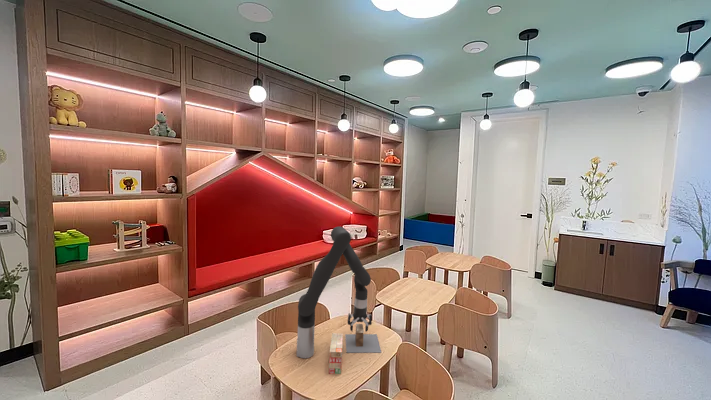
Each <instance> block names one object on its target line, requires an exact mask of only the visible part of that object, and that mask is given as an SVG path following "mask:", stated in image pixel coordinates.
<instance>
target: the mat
mask: <svg viewBox="0 0 711 400" xmlns="http://www.w3.org/2000/svg"><path fill="white" fill-rule="evenodd" d="M355 336H356V333H355V334H353V333H350V334H349V333H345V334H344V337H345V350H346V354H377V353H378V354H382V349H381V345H380V341H379V338H378V335H377V333H369V334H368V333H364V335H363V346H356V341H355Z"/></svg>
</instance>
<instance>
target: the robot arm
mask: <svg viewBox="0 0 711 400" xmlns="http://www.w3.org/2000/svg"><path fill="white" fill-rule="evenodd" d="M330 238H331V240H332V241H333V243H332V246H331V248H330V250H329V251H328V252H327V254H326V255H325V256H324V257H323V258H322V259H320V261H319V262H318V264H317V265H316V267H315V270H314V272H313V274H312V276H311V280H310V284H309V286H308V289H307V291H306V293H304V294H302V295H301V296H300V298H299V299H298V304H297V310H298V311H297V312H298V313H297V315H298V316H297V338H296V357H297V358H298V357H299V358H301V359H308V358H311V357H313V356H314V354H315V326H316V325H315V323H316V322H315V321H316V306H317V304H318V302H319V299H320V297H321V295H322V292H323V291H324V290H325V288H326V286H327V284H328V283H329V281H330V279H331V277H332V275H333V273H334V271H335V269H336V267H337V265H338V264H339V263H338V262H339V261H340V259H341V258H342V255H343V257H344V258H345V261H346V263H347V265H348V267H349V268H350V271H351V272H352V273H353V274H354V276H353V280H354V281H353V282H354V283H353V284H354V288H355V294H354V295H355V297H354V303H353V304H354V306H353V307H354V308H353V314H352V313H351V312H349V313H348V315H347V325H349V329H350V331H351V332H353V331H354V329H353V328H354V325H355V324H357V323H364V324H365V326H364V327H365V330H364V332H366V333H367V332H368V331H369V326H372V323H373V322H372V321H373V320H372V318H373V317H372V314H371V313H367V312H368V311H367V309H368V289H367V286H369V285H370V284H371V280H372V279H371V276H370V273H369V272H368V271H367V270H366V268H365V266H363V263H362V261H361V259H360V257H359V256H358V255H357V253H356V252H355V250H354V248H353V247H352V245H351V239H352V236H351V233H350V232H349V231H348V230H347V229H346V228H344V227H343V226H335V227H333V229H332V230H331V233H330ZM352 318H353V319H352ZM351 319H352V320H351ZM367 319H368V320H367Z"/></svg>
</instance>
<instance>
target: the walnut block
mask: <svg viewBox="0 0 711 400" xmlns="http://www.w3.org/2000/svg"><path fill="white" fill-rule="evenodd" d="M363 325H364V324H363V323H355V334H356V336H355V341H356V346H363V335H364V334H365V330H364V326H363Z"/></svg>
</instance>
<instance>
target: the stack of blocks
mask: <svg viewBox="0 0 711 400" xmlns="http://www.w3.org/2000/svg"><path fill="white" fill-rule="evenodd" d="M343 335H344V333H336V332H332V333H331V338H330V346H329V360H328V361H329V362H328V363H329V364H328V374H331V375H333V374H334V375H335V374H337V375H340V374H342V363H343V358H342V357H343V337H344V336H343Z"/></svg>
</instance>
